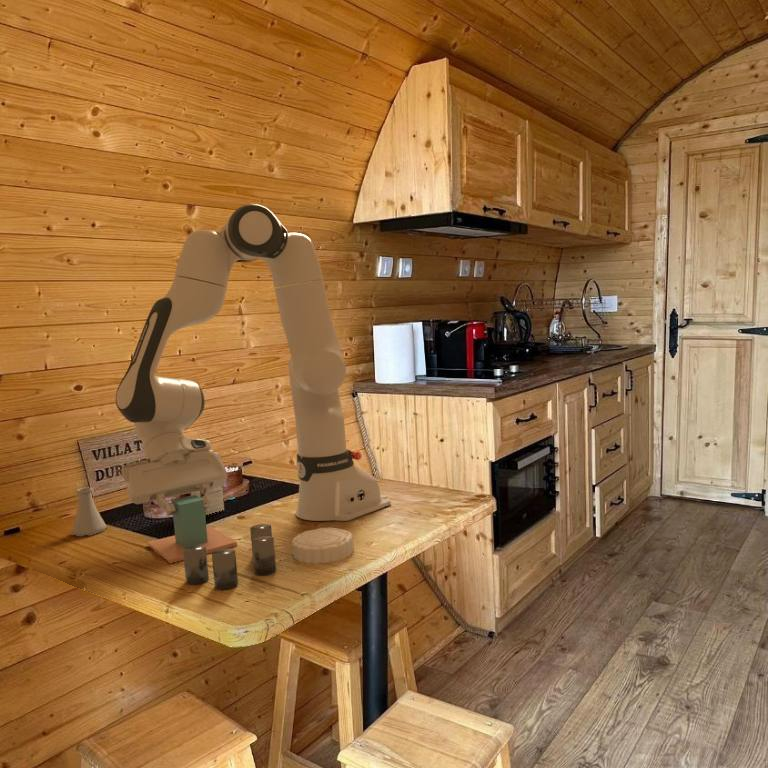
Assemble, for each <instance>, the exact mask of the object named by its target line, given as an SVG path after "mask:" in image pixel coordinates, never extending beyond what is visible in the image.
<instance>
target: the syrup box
mask: <svg viewBox="0 0 768 768" xmlns="http://www.w3.org/2000/svg"><path fill="white" fill-rule="evenodd" d="M214 452H215V453H216V454H217V455H218V456H219V458H220V459H221V454H220V452H216V451H214ZM223 493H224V490H223V486H220V487H215V488H210V491H209V495H208V497H209V499H210V506H208V507H205V517H207V516H206V515H208V516H210V515H209V514H211V515H213V514H212V513H214V514H216V513H215V512H217V513H219V511H220V512H223V511H225V503H224V502H225V501H223ZM192 495H196V496H198V497H200V498H201V497H203V496H204V495H205V493H204V494H202V493H201V491H196V492H192V493H190V496H192ZM222 510H223V511H222Z"/></svg>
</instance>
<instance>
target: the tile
mask: <svg viewBox="0 0 768 768" xmlns="http://www.w3.org/2000/svg"><path fill="white" fill-rule="evenodd" d="M206 528H207V539H208V542H206V543H202V545H205V546H206V553H207V555H208V554H212V553H213V552H214V551H216V550H220V549H227V548H229V549H231V548H235V547H237V546H238V542H237V541H236V540H234V539H233V538H231V537H230V536H227V535H226V534H225V533H222V532H221V531H220V530H217V529H216V528H214V527H212V526H206ZM146 545H149V546H150V547H151V548H152V549H154V550H155V551H156V552H157V553H158V554H160V555H161V556H162V557H163V558H164V559H166V560H167V561H168V562H169V563H171V564H174V563H173V562H175V563H178V562H177V561H179V562H182V561H184V556H183V549H184V548H183V547H182V546H180V545H179V544H178V543H176V540H175V534H174V535H170V536H167V537H162V538H159V539H155V540H150V541H147V542H146ZM151 548H150V549H151ZM152 549H151V550H152ZM156 552H155V553H156ZM157 553H156V554H157ZM158 554H157V555H158ZM161 556H160V557H161ZM162 557H161V558H162ZM163 558H162V559H163ZM164 559H163V560H164ZM166 560H165V561H166ZM181 560H182V561H181ZM167 561H166V562H167ZM168 562H167V563H168ZM169 563H168V564H169Z"/></svg>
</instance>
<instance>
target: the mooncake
mask: <svg viewBox="0 0 768 768" xmlns="http://www.w3.org/2000/svg"><path fill="white" fill-rule="evenodd" d="M354 545H355V542H354V535H353V534H352V533H351V532H350V531H348V530H346V529H343V528H342V529H341V528H336V527H335V528H334V527H331V526H330V527H319V528H316V529H310V530H305V531H303V532H300V533H298V534H297V535H296V536H295V537H293V538H292V540H291V551H292V552H291V553H292V557H293V559H294V560H297V561H298V562H300V563H301V562H302V563H303V562H304V563H306V564H311V563H312V564H316V565H317V564H328V563H330V562H331V563H334V562H335V563H336V562H338V561H340V560H344V559H345V558H347V557H350V556H351V554H352V553H354V551H355V550H354V549H355V546H354Z"/></svg>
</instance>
